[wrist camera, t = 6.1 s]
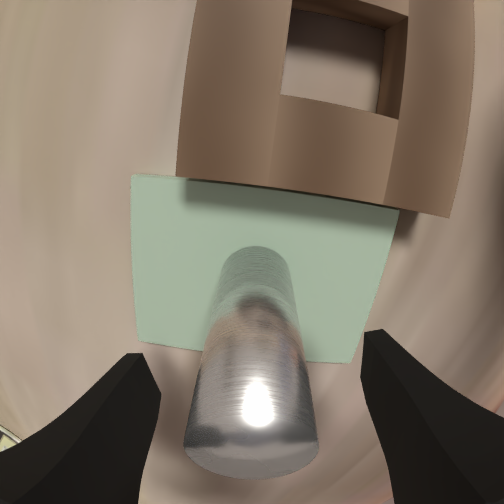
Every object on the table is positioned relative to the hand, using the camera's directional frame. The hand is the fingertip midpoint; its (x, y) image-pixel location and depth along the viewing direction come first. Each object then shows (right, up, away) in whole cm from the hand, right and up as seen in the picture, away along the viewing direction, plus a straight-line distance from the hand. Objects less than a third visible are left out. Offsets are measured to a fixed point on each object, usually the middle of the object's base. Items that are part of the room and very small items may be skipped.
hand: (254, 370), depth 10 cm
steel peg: (0, +3, +5) cm, 6 cm away
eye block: (+3, +12, +2) cm, 12 cm away
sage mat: (0, +2, +6) cm, 6 cm away
